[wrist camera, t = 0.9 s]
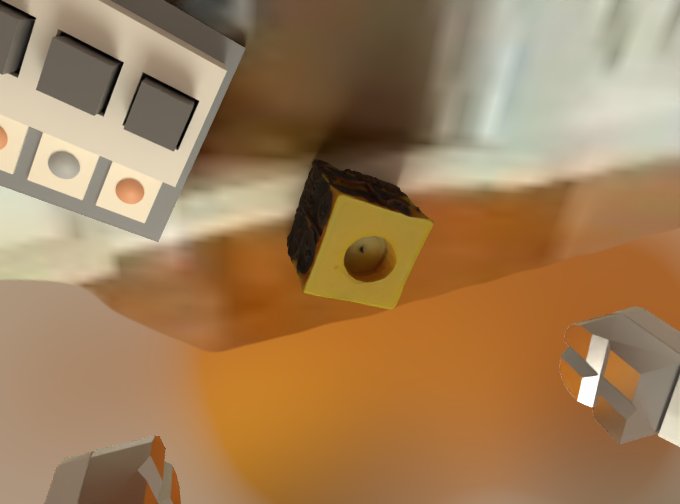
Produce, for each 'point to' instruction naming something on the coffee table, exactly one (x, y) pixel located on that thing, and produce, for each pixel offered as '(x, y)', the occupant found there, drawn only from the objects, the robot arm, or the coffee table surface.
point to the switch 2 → (79, 74)
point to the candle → (355, 237)
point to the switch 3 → (159, 113)
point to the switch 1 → (13, 36)
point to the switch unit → (111, 111)
